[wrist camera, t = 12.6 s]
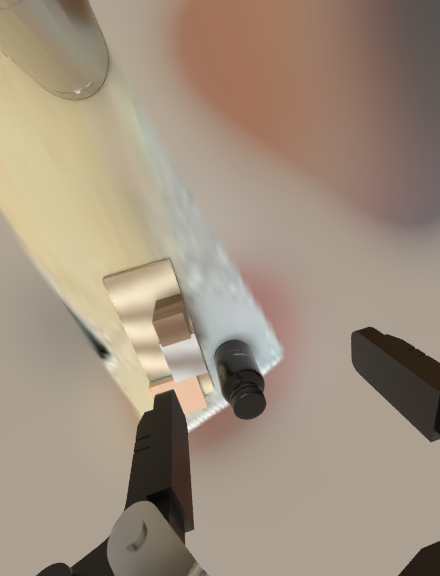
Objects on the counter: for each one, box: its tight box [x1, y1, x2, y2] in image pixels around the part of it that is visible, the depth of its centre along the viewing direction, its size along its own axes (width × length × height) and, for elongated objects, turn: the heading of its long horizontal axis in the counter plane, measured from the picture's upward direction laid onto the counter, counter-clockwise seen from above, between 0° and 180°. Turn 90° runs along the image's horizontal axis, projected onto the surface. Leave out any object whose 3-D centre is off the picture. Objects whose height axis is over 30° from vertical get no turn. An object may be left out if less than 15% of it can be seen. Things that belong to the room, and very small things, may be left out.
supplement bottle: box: [215, 341, 266, 420], centre depth 39 cm, size 7×7×12 cm
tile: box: [149, 375, 207, 415], centre depth 43 cm, size 2×8×8 cm
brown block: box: [152, 293, 208, 383], centre depth 36 cm, size 11×5×7 cm, turn 14°
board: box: [102, 258, 214, 394], centre depth 40 cm, size 26×10×1 cm, turn 14°
